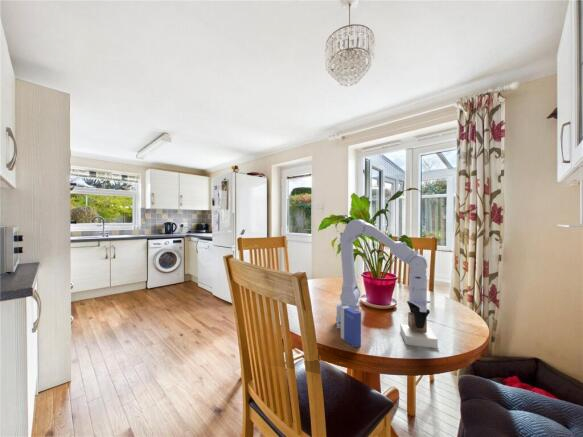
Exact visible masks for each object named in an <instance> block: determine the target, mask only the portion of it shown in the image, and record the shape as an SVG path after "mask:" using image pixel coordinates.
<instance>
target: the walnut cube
mask: <svg viewBox="0 0 583 437" xmlns="http://www.w3.org/2000/svg"><path fill="white" fill-rule="evenodd" d="M407 318H408V320H407V325H408V326H409V328H410V330H411V331H413V332H423V333H427V327H428V325H427V323H428V320H427V318H426V320H425V324H424V327H423V329H422V328H417V327H416V323H415V317H414V313H411V311H410V312H407Z"/></svg>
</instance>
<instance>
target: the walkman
mask: <svg viewBox="0 0 583 437" xmlns="http://www.w3.org/2000/svg"><path fill="white" fill-rule="evenodd" d="M340 338H341V339H342V340H343V341H345V342H347V344H348V345H350V346H352V347H353V348H358V347H361V346H362V312H361V311H360V312H359V311H358V310H355V309H353V308H351V307H349V306H341V328H340Z"/></svg>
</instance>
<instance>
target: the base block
mask: <svg viewBox="0 0 583 437" xmlns="http://www.w3.org/2000/svg"><path fill="white" fill-rule="evenodd" d="M399 329H400V330H399V331H400V334H401V337H402V338H403V340H404V343H405V345H406V346H415V347H425V348H432V349H438V348H439V347H438V344H439V342H438V337H437V336H436V335H435V333H434V332H433V330H431V328H430V327H429V326H427V333H423V332H413V331H411V330H410V328H409V326H408V324H403V323H402V324H400V328H399Z"/></svg>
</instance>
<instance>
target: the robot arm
mask: <svg viewBox="0 0 583 437" xmlns="http://www.w3.org/2000/svg"><path fill="white" fill-rule="evenodd" d="M360 236H368V237H373V238H374V239H375V240H377V241H378V242H380V243H381V244H383V245H384V246H386V247H387V248H389V250H390V254H392V255H393V256H394V257H396V258H397V259H398V260H400V261H401V262H403V263H404V264H406V265H408V267H409V274H408V276H409V277H408V288H409V289H408V290H409V291H408V300H407V301H406V303H407V305H408V308H409V311H410V312H411V313H414V317H415V323H416V327H417V328H422V329H423V327H424V324H425V320H426V318H427V317H428V316H429V314H430V312H431V311H430V309H428V307H427V305H428V304H431V300H429V299H428V298H427V293H428V292H427V291H428V290H427V286H428V282H427V281H428V280H427V279H428V277H427V268H428V263H427V259H426V257H425V256H423V254H422V253H419V251H417V250H414V249H412V248H411V247H409V246H408V244H407V242H405V241H403V242H402V241H401V240H397V241H395V240H393V239H392V238H391V237H389V236H388V235H387V234H385V233H384V232H383V231H381V230H380V229H379V228H378V227H376V226H375V225H373V224H372V223H369V222H367V221H366V220H365V219H361V218H359V219H352V220H350V221H349V222H348V223H347V224H345V227H344V230H343V231H342V233H341V236H340V238H339V242H340V255H341V268H342V271H341V272H342V285H341V293H340V295H339V298H340V302H337V303H336V316H335V321H336V328H337V329H341V306H349V307H351V308H353V309H355V310H358V311H359V312H361V311H360V302H359V299H360V297H361V290H360V288H359V287H358V281H357V280H356V269H355V268H356V266H355V265H356V264H355V256H354V241H356V240H357V239H358V237H360Z"/></svg>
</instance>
